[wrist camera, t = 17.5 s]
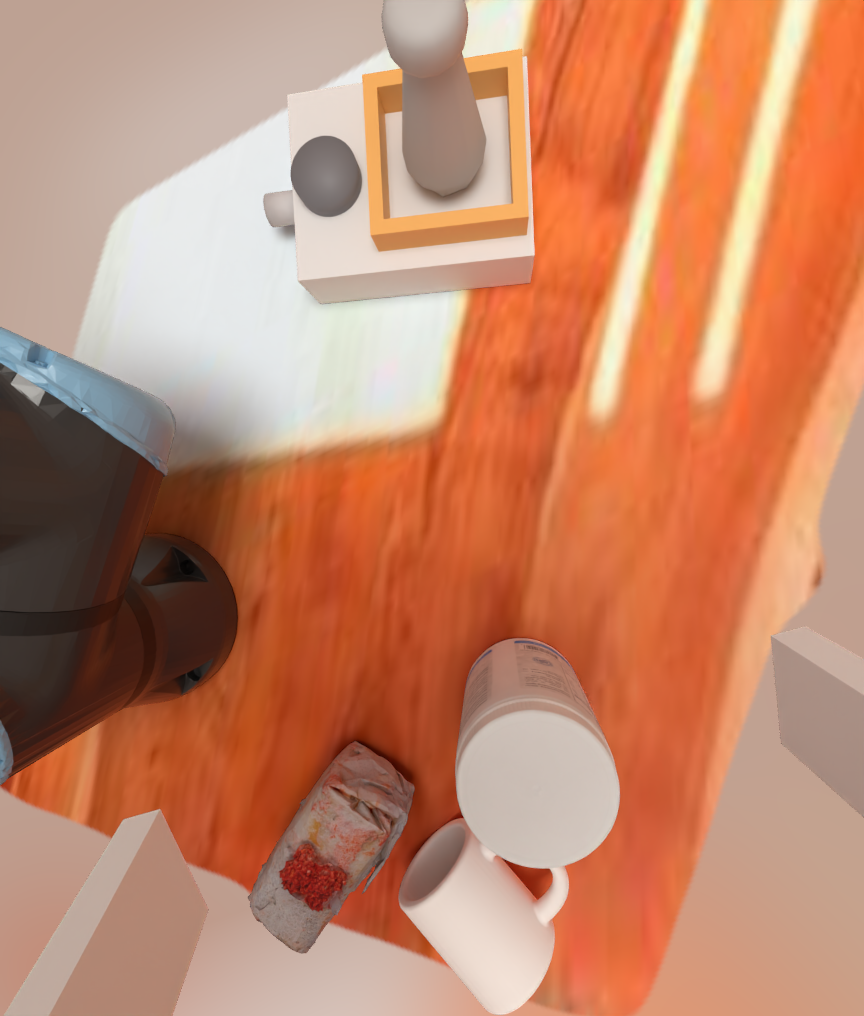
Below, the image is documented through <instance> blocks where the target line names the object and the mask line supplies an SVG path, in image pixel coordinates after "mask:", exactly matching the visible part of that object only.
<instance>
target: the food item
mask: <svg viewBox="0 0 864 1016" xmlns="http://www.w3.org/2000/svg"><path fill="white" fill-rule="evenodd" d="M414 790H415V789H414V785H413V784H412V783H410V782H408V781H406V780H405V779H404V777H403V776H402V774H401V773H399V772H398V771H396V770H395V768H394V767H393V766H392V764H391V763H390V762H389V761H387V760H386V759H385V758H383V757H381V756H377V755H376V754H375V753H374V752H373V751H371V750H370V749H368V748H367V747H365V746H363V745H361V744H360V743H358V742H356V741H354V742H353V743H350V744H349V745H348V746H347V747H346V748H345V749H344V750H342V751H341V752H340V753H339V755H338V756H337V757H336V758H335V759H334V760H333V761H332V763H331V764H330V765H329V766H328V767H327V769H326V770H325V771H324V773H323V774H322V776H321V777H320V778H319V780H318V781H317V783H316V784H315V785H314V787H313V788H312V790H311V791H310V793H309V794H308V796H307V797H306V798H305V799H303V800H302V801H301V803H300V804H301V806H300V808H299V809H298V811H297V813H296V814H295V816H294V818H293V820H292V821H291V823H290V825H289V826H288V827H287V829H286V830H285V832H284V833H283V835H282V836H281V838H280V839H279V841H278V842H277V844H276V846H275V848H274V849H273V851H272V853H271V854H270V856H269V858H268V860H267V862H266V863H265V864H263V865H262V870H261V871H260V872H259V875H258V879H257V881H256V883H255V884H254V886H253V890H252V893H251V894H250V895H249V896H248V899H249V901H250V907H251V909H252V911H253V915H254V916H255V918H256V920H257V921H260V922H262V923H263V925H264V926H265V927H266V928H267V929H268V931H269V932H271V933H272V934H273V936H275V937H276V938H277V939H279V940H280V941H281V942H283V943H284V944H285V945H286V946H288V947H289V948H290V949H292V950H294V951H296V952H299V953H306V952H308V950H309V949H310V947H311V946H312V945H313V944H314V943H315V941H316V939H317V937H318V936H319V935H320V933H321V932H322V930H323V929H324V927H325V926H326V925H327V924H328V922H329V921H330V920H331V919H332V917H333V916H334V915H337V914H338V912H339V910H340V908H341V907H342V904H343V903H344V901H345V900H346V898H347V897H348V895H349V893H350V892H353V891H355V890H356V888H357V887H358V885H359V884H360V883H361V882H362V880H364V879H365V878H366V877H367V875H368V874H369V873H370V872H371V871H370V870H371V868H372V867H374V866H375V865H376V867H375V870H374V872H373V873H372V875H371V876H370V877H369V878H368V881H367V883H366V886H365V888H364V890H363V893H364V892H365V891H366V889H367V888H368V886H369V885H370V883H371V882H372V880H373V879H374V878H375V876H376V875H377V874H378V872H379V871H380V869H381V868H382V866H383V865H384V863H385V861H386V859H387V858H388V857H389V855H390V852H391V850H392V848H393V846H394V845H395V843H396V841H397V840H398V838H399V837H400V836H401V833H402V831H403V828H404V826H405V825H406V823H407V819H408V813H409V810H410V807H411V805H412V797H413V793H414ZM363 893H362V894H363Z"/></svg>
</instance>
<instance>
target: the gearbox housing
mask: <svg viewBox="0 0 864 1016" xmlns="http://www.w3.org/2000/svg"><path fill="white" fill-rule="evenodd" d="M463 59H464V62H465V65H466V69H467V72H468V76H469V79H470V83H471V86H472V90H473V93H474V97H475V100H476V104H477V107H478V111H479V114H480V118H481V121H482V125H483V128H484V132H485V135H486V139H487V140H486V146H485V152H484V159H483V164H482V165H481V167H480V168H479V170H478V171H477V173H476V175H475V176H474V178H473V179H472V181H471V182H470V184H469V186H468V187H467V188H466V189H463V190H461V191H458V192H455V193H453V194H450V195H448V196H445V197H442V196H441V195H439V194H438V193H436V192H435V191H432V190H429V189H426V188H424V187H422V186H421V185H420V184H419V183H418V182H417V181H416V180H415V179H414V178H413V177H412V176H411V175H410V174H409V173H408V171H407V168H406V164H405V161H404V157H403V153H402V69H395V70H389V71H383V72H376V73H370V74H364V75H362V80H363V83H357V84H351V85H344V86H338V87H332V88H326V89H319V90H313V91H307V92H301V93H294V94H288V95H287V96H288V97H287V98H288V116H289V134H290V151H291V181H292V187H293V190H290V191H283V192H275V193H268V194H265V195H264V209H265V214H266V217H267V219H268V221H269V223H270V225H271V226H272V227H281V226H289V225H295V240H296V258H297V275H298V281H299V283H300V284H301V285H302V286H303V287H304V288H305V289H306V290H307V291H308V292H309V293H310V294H311V295H312V296H313V297H314V298H315V299H316V300H317V301H318V302H319V303H320V304H326V303H336V302H346V301H356V300H366V299H376V298H386V297H396V296H406V295H416V294H425V293H435V292H445V291H455V290H465V289H475V288H485V287H495V286H505V285H515V284H525V283H530V282H531V275H532V269H533V262H534V256H535V253H534V227H533V202H532V176H531V151H530V125H529V100H528V75H527V56H525V57H522V49H518V50H512V51H506V52H500V53H493V54H487V55H481V56H475V57H469V58H463Z"/></svg>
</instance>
